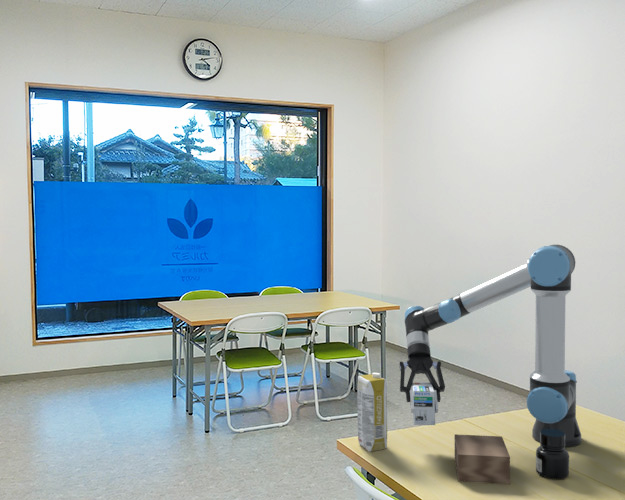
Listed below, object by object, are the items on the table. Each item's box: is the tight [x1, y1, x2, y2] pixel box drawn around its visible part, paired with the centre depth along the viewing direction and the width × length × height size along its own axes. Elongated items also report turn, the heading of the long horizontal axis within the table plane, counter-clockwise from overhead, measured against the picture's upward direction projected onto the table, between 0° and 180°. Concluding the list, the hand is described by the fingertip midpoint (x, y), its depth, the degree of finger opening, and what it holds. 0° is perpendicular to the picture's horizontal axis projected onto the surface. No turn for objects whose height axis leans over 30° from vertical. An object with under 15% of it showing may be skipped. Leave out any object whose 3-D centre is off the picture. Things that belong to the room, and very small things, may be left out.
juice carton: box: [356, 372, 388, 452], centre depth 199 cm, size 9×8×24 cm
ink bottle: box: [535, 429, 570, 480], centre depth 177 cm, size 10×9×12 cm
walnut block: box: [454, 433, 511, 485], centre depth 180 cm, size 14×16×8 cm
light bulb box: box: [411, 381, 436, 426], centre depth 195 cm, size 11×7×11 cm, turn 174°
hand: (424, 410), depth 192 cm, fingers closed on light bulb box, 7 cm apart
